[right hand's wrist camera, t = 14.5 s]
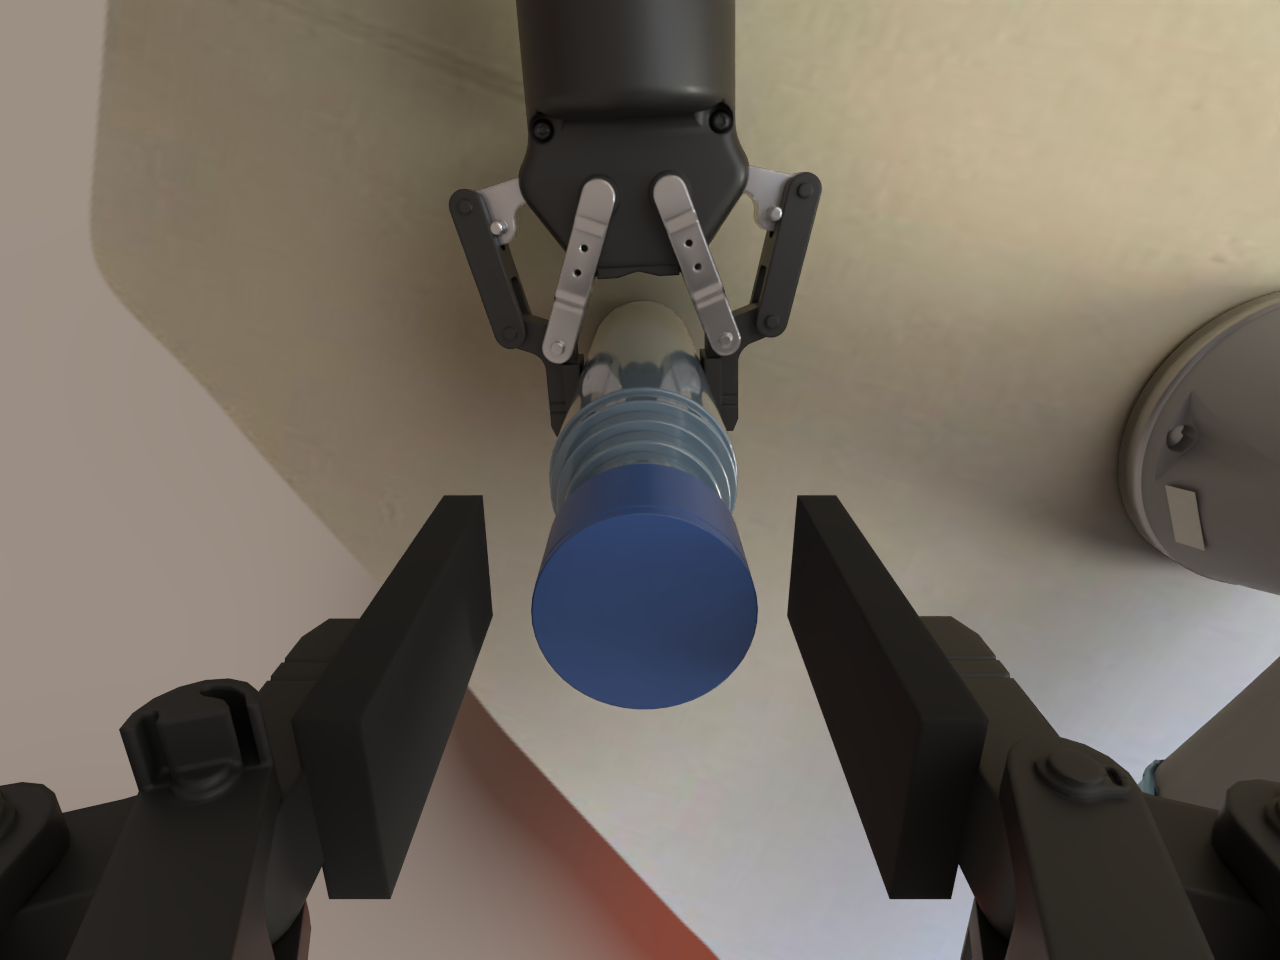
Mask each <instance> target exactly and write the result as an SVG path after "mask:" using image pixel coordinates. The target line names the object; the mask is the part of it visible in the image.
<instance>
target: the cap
mask: <svg viewBox="0 0 1280 960" xmlns="http://www.w3.org/2000/svg"><path fill="white" fill-rule="evenodd" d="M531 613H532V625H533V629H534V633H535V637H536V640H537V642H538V645H539V647H540V649H541V651H542V653H543V655H544V656H545V658H546V660H547V661H548V663H549V664H550V665H551V667H552V668H553V669H554V671H555V672H556V673H557V674H558V675H559V676H560V677H561V678H562V679H563V680H565V681H566V682H567V683H568V684H570V685H571V686H572V687H573V688H575V689H577V690H578V691H580V692H581V693H583V694H585V695H587V696H589V697H591V698H593V699H595V700H598V701H600V702H603V703H606V704H610V705H613V706H618V707H623V708H631V709H658V708H666V707H671V706H675V705H680V704H683V703H685V702H688V701H691V700H694V699H696V698H698V697H700V696H702V695H704V694H706V693H708V692H709V691H711V690H712V689H714V688H715V687H717V686H718V685H719V684H721V683H722V682H723V681H724V680H725V679H727V678H728V677H729V676H730V675H731V674H732V672H733V671H734V670H735V669H736V668H737V667H738V665H739V664H740V663H741V661H742V660H743V658H744V657H745V655H746V653H747V651H748V649H749V647H750V645H751V642H752V640H753V637H754V634H755V629H756V624H757V614H758V606H757V596H756V592H755V588H754V584H753V581H752V577H751V574H750V570H749V567H748V564H747V560H746V557H745V554H744V550H743V547H742V544H741V540H740V537H739V534H738V530H737V527H736V524H735V522H734V519H733V517H732V514H731V513H730V511H729V509H728V508H727V506H726V504H725V503H724V502H723V500H722V499H721V498H720V497H719V495H718V494H717V493H716V492H715V491H714V490H712V489H711V488H710V487H709V486H708V485H707V484H705V483H704V482H702V481H701V480H700V479H698V478H696V477H694V476H693V475H691V474H689V473H687V472H684V471H682V470H679V469H676V468H673V467H669V466H664V465H658V464H648V463H647V464H631V465H623V466H620V467H616V468H612V469H609V470H607V471H604V472H602V473H599V474H597V475H596V476H594V477H592V478H590V479H589V480H587V481H586V482H584V483H583V484H582V485H580V486H579V487H578V488H577V489H576V490H575V491H574V492H573V493H572V494H571V495H570V496H569V497H568V498H567V499H566V501H565V502H564V503H563V505H562V506H561V508H560V510H559V511H558V513H557V515H556V517H555V520H554V522H553V525H552V528H551V531H550V535H549V538H548V542H547V545H546V549H545V552H544V556H543V559H542V563H541V566H540V570H539V574H538V578H537V581H536V584H535V588H534V593H533V597H532V608H531Z"/></svg>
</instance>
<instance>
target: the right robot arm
mask: <svg viewBox="0 0 1280 960" xmlns="http://www.w3.org/2000/svg"><path fill="white" fill-rule="evenodd" d="M1118 479H1119V488H1120V493H1121V497H1122V501H1123V504H1124V506H1125V509H1126V512H1127V514H1128V516H1129V518H1130V520H1131V522H1132V523H1133V525H1134V526H1135V527H1136V529H1137V530H1138V532H1139V533H1140V534H1141V535H1142V536H1143V537H1144V538H1145V539H1146V540H1147V541H1148V542H1149V543H1150V544H1151V545H1152V546H1154V547H1155V548H1156V549H1158V550H1159V551H1161V552H1162V553H1164V554H1165V555H1167V556H1168V557H1170V558H1171V559H1173V560H1174V561H1176V562H1177V563H1179V564H1180V565H1182V566H1183V567H1185V568H1187V569H1188V570H1190V571H1192V572H1194V573H1196V574H1198V575H1201V576H1204V577H1206V578H1209V579H1213V580H1217V581H1220V582H1226V583H1230V584H1235V585H1242V586H1246V587H1249V588H1253V589H1257V590H1261V591H1265V592H1269V593H1273V594H1277V595H1280V291H1279V292H1274V293H1271V294H1268V295H1265V296H1261V297H1258V298H1256V299H1253V300H1251V301H1248V302H1246V303H1243V304H1241V305H1239V306H1237V307H1235V308H1233V309H1231V310H1229V311H1227V312H1225V313H1224V314H1222V315H1220V316H1219V317H1217V318H1215V319H1214V320H1212V321H1210V322H1209V323H1208V324H1206V325H1205V326H1203V327H1202V328H1201V329H1199V330H1198V331H1196V332H1195V333H1194V334H1193V335H1192V336H1190V337H1189V338H1188V339H1187V340H1186V341H1184V342H1183V343H1182V344H1181V345H1180V346H1179V347H1178V348H1177V349H1176V350H1175V351H1174V352H1173V353H1172V354H1171V355H1170V356H1169V357H1168V358H1167V359H1166V360H1165V361H1164V363H1163V364H1162V365H1161V366H1160V367H1159V368H1158V370H1157V371H1156V372H1155V374H1154V375H1153V376H1152V378H1151V379H1150V380H1149V382H1148V383H1147V385H1146V386H1145V388H1144V390H1143V391H1142V393H1141V394H1140V396H1139V398H1138V400H1137V402H1136V404H1135V406H1134V407H1133V410H1132V412H1131V414H1130V417H1129V419H1128V421H1127V424H1126V428H1125V431H1124V434H1123V437H1122V442H1121V446H1120V453H1119V461H1118ZM492 616H493V613H492V601H491V589H490V577H489V566H488V554H487V542H486V530H485V519H484V507H483V495H444V496H443V498H442V499H441V501H440V502H439V503H438V505H437V506H436V508H435V509H434V511H433V512H432V514H431V515H430V517H429V518H428V520H427V521H426V522H425V524H424V525H423V527H422V528H421V530H420V531H419V533H418V534H417V536H416V537H415V539H414V540H413V541H412V543H411V544H410V546H409V547H408V549H407V550H406V552H405V553H404V555H403V556H402V558H401V559H400V560H399V562H398V563H397V565H396V566H395V568H394V569H393V571H392V572H391V574H390V575H389V577H388V578H387V580H386V581H385V582H384V584H383V585H382V587H381V588H380V590H379V591H378V593H377V594H376V596H375V597H374V599H373V600H372V602H371V603H370V605H369V606H368V607H367V609H366V610H365V612H364V613H363V615H362V616H361V618H360V619H328V620H327V621H325V622H324V623H322V624H321V625H319V626H318V627H316V628H315V629H313V630H312V631H310V632H309V633H307V634H306V635H304V636H303V637H301V639H300V640H299V641H298V643H297V644H296V645H295V646H294V648H293V649H292V650H291V651H290V653H289V654H288V655H287V657H286V658H285V662H284V663H281V664H280V665H279V667H278V668H277V669H276V670H275V672H274V673H273V674H272V676H271V680H270V681H267V682H266V683H265V684H264V686H263V687H262V688H261V689H260V691H259V692H258V691H257V690H256V689H255V688H254V687H252V686H251V685H250V684H249V683H247V682H243V681H239V680H234V679H214V680H204V681H200V682H196V683H192V684H189V685H185V686H181V687H178V688H176V689H174V690H171V691H169V692H167V693H165V694H162V695H160V696H158V697H156V698H154V699H152V700H151V701H149V702H148V703H147V704H145V705H144V706H142V707H141V708H139V709H138V710H137V711H135V712H134V713H132V715H131V716H130V717H129V718H128V719H127V721H126V722H125V723H124V724H123V725H122V727H121V728H120V729H119V730H120V734H121V737H122V740H123V743H124V746H125V749H126V752H127V755H128V758H129V762H130V765H131V768H132V771H133V774H134V777H135V780H136V783H137V786H138V790H139V792H138V795H136V796H133V797H129V798H126V799H122V800H118V801H113V802H109V803H104V804H100V805H96V806H91V807H87V808H83V809H78V810H73V811H69V812H65V813H62V811H61V809H60V806H59V803H58V801H57V798H56V795H55V793H54V792H53V791H51V790H50V789H49V788H47V787H46V786H45V785H43V784H36V783H26V782H20V783H14V784H8V785H3V786H0V960H308V951H309V942H310V933H311V924H310V917H309V910H308V906H307V902H306V898H307V896H308V894H309V892H310V890H311V888H312V886H313V884H314V882H315V879H316V877H317V875H318V873H319V871H320V869H321V867H322V868H323V873H324V878H325V882H326V887H327V891H328V896H329V899H390V898H391V896H392V893H393V890H394V887H395V885H396V882H397V879H398V876H399V873H400V871H401V868H402V865H403V862H404V860H405V857H406V854H407V851H408V849H409V846H410V843H411V840H412V838H413V835H414V832H415V829H416V827H417V824H418V821H419V818H420V815H421V813H422V810H423V807H424V804H425V802H426V799H427V796H428V793H429V791H430V788H431V785H432V782H433V780H434V777H435V774H436V771H437V768H438V766H439V763H440V760H441V757H442V755H443V752H444V749H445V746H446V744H447V741H448V738H449V735H450V733H451V730H452V727H453V724H454V721H455V719H456V716H457V713H458V710H459V708H460V705H461V702H462V699H463V697H464V694H465V691H466V688H467V686H468V683H469V680H470V677H471V675H472V672H473V669H474V666H475V663H476V661H477V658H478V655H479V652H480V650H481V647H482V644H483V641H484V639H485V636H486V633H487V630H488V628H489V625H490V622H491V619H492ZM787 616H788V619H789V622H790V625H791V628H792V630H793V633H794V636H795V639H796V641H797V644H798V647H799V650H800V652H801V655H802V658H803V661H804V663H805V666H806V669H807V672H808V674H809V677H810V680H811V683H812V686H813V688H814V691H815V694H816V697H817V699H818V702H819V705H820V708H821V710H822V713H823V716H824V719H825V721H826V724H827V727H828V730H829V733H830V735H831V738H832V741H833V744H834V746H835V749H836V752H837V755H838V757H839V760H840V763H841V766H842V768H843V771H844V774H845V777H846V780H847V782H848V785H849V788H850V791H851V793H852V796H853V799H854V802H855V804H856V807H857V810H858V813H859V815H860V818H861V821H862V824H863V827H864V829H865V832H866V835H867V838H868V840H869V843H870V846H871V849H872V851H873V854H874V857H875V860H876V862H877V865H878V868H879V871H880V873H881V876H882V879H883V882H884V885H885V887H886V890H887V893H888V896H889V898H890V899H951V896H952V892H953V887H954V882H955V878H956V873H957V868H958V864H959V865H960V868H961V870H962V872H963V874H964V876H965V878H966V880H967V882H968V884H969V886H970V888H971V890H972V892H973V894H974V896H975V897H974V902H973V906H972V910H971V915H970V919H969V923H968V928H967V932H966V936H965V941H964V945H963V949H962V954H961V960H972V959H973V960H1280V657H1279V658H1278V659H1276V660H1275V661H1274V662H1273V663H1272V664H1271V665H1270V666H1269V667H1268V668H1267V669H1266V670H1265V671H1264V672H1262V673H1261V674H1260V675H1259V676H1258V677H1257V678H1256V679H1255V680H1254V681H1253V682H1252V683H1251V684H1249V685H1248V686H1247V687H1246V688H1245V689H1244V690H1243V691H1242V692H1241V693H1240V694H1239V695H1238V696H1236V697H1235V698H1234V699H1233V700H1232V701H1231V702H1230V703H1229V704H1227V705H1226V706H1225V707H1224V708H1223V709H1222V710H1221V711H1220V712H1218V713H1217V714H1216V715H1215V716H1214V717H1213V718H1212V719H1211V720H1209V721H1208V722H1207V723H1206V724H1205V725H1204V726H1203V727H1201V728H1200V729H1199V730H1198V731H1197V732H1196V733H1195V734H1194V735H1192V736H1191V737H1190V738H1189V739H1188V740H1187V741H1186V742H1184V743H1183V744H1182V745H1181V746H1180V747H1179V748H1178V749H1177V750H1175V751H1174V752H1173V753H1172V754H1171V755H1170V756H1169V757H1167V758H1166V759H1165V760H1155V761H1153V762H1152V763H1151V764H1150V765H1148V767H1147V768H1146V769H1145V771H1144V773H1143V779H1142V781H1141V782H1140V783H1139V784H1138V785H1137V784H1136V782H1135V781H1134V779H1133V778H1132V776H1131V775H1130V774H1129V772H1127V771H1126V770H1125V769H1124V768H1122V767H1121V766H1120V765H1119V764H1117V763H1116V762H1115V761H1114V760H1112V759H1111V758H1110V757H1108V756H1106V755H1104V754H1103V753H1101V752H1099V751H1097V750H1095V749H1093V748H1091V747H1089V746H1087V745H1085V744H1082V743H1078V742H1075V741H1072V740H1068V739H1065V738H1062V737H1060V736H1059V735H1058V734H1057V733H1056V731H1055V730H1054V729H1053V728H1052V726H1051V725H1050V724H1049V723H1048V721H1047V720H1046V719H1045V717H1044V716H1043V715H1042V714H1041V712H1040V711H1039V710H1038V709H1037V707H1036V706H1035V705H1034V704H1033V702H1032V701H1031V700H1030V699H1029V697H1028V696H1027V695H1026V694H1025V692H1024V691H1023V690H1022V689H1021V687H1020V686H1019V685H1018V684H1017V682H1016V681H1015V680H1014V678H1010V673H1009V672H1008V671H1007V670H1006V668H1005V667H1004V666H1003V665H1002V663H1001V662H1000V661H999V660H996V658H995V657H996V656H995V655H994V653H993V652H992V651H991V650H990V648H989V647H988V646H987V645H986V643H985V642H984V641H983V640H982V638H981V637H980V636H979V635H978V634H977V633H975V632H974V631H972V630H971V629H969V628H968V627H966V626H965V625H963V624H962V623H960V622H959V621H957V620H956V619H954V618H953V617H951V616H918V615H917V613H916V612H915V610H914V609H913V607H912V606H911V604H910V603H909V601H908V600H907V599H906V597H905V596H904V594H903V593H902V591H901V590H900V588H899V587H898V585H897V584H896V582H895V581H894V579H893V578H892V577H891V575H890V574H889V572H888V571H887V569H886V568H885V566H884V565H883V563H882V562H881V560H880V559H879V558H878V556H877V555H876V553H875V552H874V550H873V549H872V547H871V546H870V544H869V543H868V541H867V540H866V539H865V537H864V536H863V534H862V533H861V531H860V530H859V528H858V527H857V525H856V524H855V522H854V521H853V520H852V518H851V517H850V515H849V514H848V512H847V511H846V509H845V508H844V506H843V505H842V503H841V502H840V501H839V499H838V498H837V496H836V495H797V507H796V519H795V531H794V542H793V554H792V566H791V578H790V589H789V601H788V613H787Z"/></svg>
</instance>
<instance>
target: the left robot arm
mask: <svg viewBox="0 0 1280 960" xmlns="http://www.w3.org/2000/svg"><path fill="white" fill-rule="evenodd" d="M516 6H517V16H518V28H519V38H520V49H521V60H522V70H523V81H524V92H525V103H526V113H527V124H528V146H527V151H526V155H525V158H524V160H523V163H522V165H521V167H520V171H519V177H518V178H515V179H512V180H509V181H506V182H503V183H500V184H497V185H494V186H490V187H487V188H484V189H481V190H470V189H460V190H458V191H456V192H455V193H453V195H452V196H451V198H450V201H449V210H450V213H451V216H452V218H453V221H454V224H455V227H456V230H457V232H458V235H459V238H460V241H461V243H462V246H463V249H464V252H465V255H466V257H467V260H468V263H469V266H470V268H471V271H472V274H473V277H474V280H475V282H476V285H477V288H478V291H479V293H480V296H481V299H482V302H483V305H484V307H485V310H486V313H487V316H488V318H489V321H490V324H491V327H492V330H493V332H494V335H495V338H496V340H497V342H498V343H499V344H500V345H501V346H502V347H504V348H507V349H515V348H517V349H520V350H523V351H527V352H530V353H533V354H535V355H537V356H538V357H539V358H540V359H541V360H542V361H543V363H544V365H545V367H546V373H547V384H548V394H549V403H550V404H549V405H550V416H551V426H552V429H553V430H554V432H555V434H556V436H557V438H558V436H559V433H560V430H561V427H562V425H563V422H564V419H565V417H566V414H567V411H568V408H569V406H570V403H571V400H572V397H573V395H574V392H575V389H576V387H577V384H578V381H579V378H580V376H581V373H582V370H583V367H584V354H578V339H579V336H580V332H581V329H582V325H583V322H584V318H585V315H586V311H587V308H588V304H589V301H590V298H591V295H592V292H593V288H594V285H595V281H596V278H597V279H607V278H619V277H622V276H625V275H628V274H631V273H634V272H638V271H639V272H644V273H648V274H653V275H657V276H668V275H679V273H680V272H681V274H682V277H683V279H684V282H685V284H686V287H687V290H688V292H689V294H690V297H691V299H692V302H693V304H694V307H695V309H696V312H697V315H698V317H699V320H700V322H701V325H702V327H703V330H704V332H705V349H700V363H701V365H702V368H703V371H704V373H705V376H706V379H707V381H708V384H709V386H710V389H711V392H712V394H713V397H714V399H715V402H716V405H717V407H718V410H719V412H720V415H721V418H722V420H723V423H724V425H725V428H726V431H733V430H734V427H735V425H736V422H737V420H738V358H739V355H740V353H741V351H742V350H743V349H744V348H745V347H746V346H747V345H748V344H750V343H753V342H755V341H757V340H760V339H762V338H765V337H776V336H779V335H780V334H781V333H783V331H784V330H785V329H786V326H787V323H788V319H789V315H790V312H791V308H792V304H793V300H794V296H795V292H796V288H797V285H798V281H799V277H800V273H801V269H802V265H803V261H804V258H805V254H806V250H807V246H808V242H809V238H810V234H811V231H812V227H813V223H814V219H815V215H816V211H817V207H818V203H819V200H820V196H821V191H822V186H821V182H820V180H819V179H818V177H817V176H816V175H814V174H812V173H809V172H799V173H795V174H788V173H783V172H778V171H773V170H769V169H764V168H759V167H754V166H749V162H748V159H747V156H746V154H745V152H744V150H743V149H742V147H741V145H740V142H739V139H738V136H737V132H736V125H735V0H516ZM743 193H745V194H747V195H748V196H749V197H750V198H751V200H752V202H753V205H754V214H753V215H754V221H755V223H756V224H757V226H758V227H760V228H761V229H763V230H767V233H766V237H765V241H764V245H763V249H762V254H761V258H760V262H759V266H758V270H757V275H756V279H755V283H754V287H753V291H752V296H751V300H750V304H749V305H747V306H744V307H742V308H739V309H737V310H735V311H731V308H730V306H729V303H728V300H727V297H726V295H725V291H724V287H723V284H722V282H721V279H720V276H719V274H718V271H717V268H716V266H715V263H714V260H713V258H712V255H711V252H710V249H709V247H708V245H709V244H710V242H711V241H712V239H713V238H714V236H715V235H716V233H717V232H718V230H719V229H720V227H721V226H722V224H723V223H724V221H725V220H726V218H727V216H728V215H729V213H730V212H731V210H732V209H733V207H734V206H735V204H736V203H737V201H738V200H739V198H740V197H741V195H742V194H743ZM526 204H528V206H529V207H530V208H531V209H532V211H533V212H534V213H535V214H536V216H537V217H538V218H539V219H540V221H541V222H542V223H543V224H544V226H545V227H546V228H547V229H548V231H549V232H550V233H551V234H552V236H553V237H554V238H555V239H556V241H557V242H558V243H559V244H560V246H561V247H562V248H563V249H564V251H565V252H566V255H565V258H564V262H563V266H562V269H561V273H560V277H559V281H558V284H557V288H556V292H555V297H554V303H553V307H552V311H551V315H550V318H549V320H547V319H543V318H540V317H537V316H534V315H532V314H531V311H530V308H529V305H528V302H527V299H526V296H525V293H524V290H523V287H522V284H521V281H520V278H519V275H518V272H517V269H516V267H515V264H514V261H513V258H512V255H511V252H510V249H509V246H508V243H510V242H512V241H514V240H515V239H516V238H517V236H518V234H519V222H518V216H519V212H520V210H521V209H522V208H523V207H524V206H525V205H526Z"/></svg>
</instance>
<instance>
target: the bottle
mask: <svg viewBox="0 0 1280 960" xmlns="http://www.w3.org/2000/svg"><path fill="white" fill-rule="evenodd" d="M647 463H648V464H658V465H664V466H669V467H673V468H676V469H679V470H682V471H684V472H687V473H689V474H691V475H693V476H694V477H696V478H698V479H700V480H701V481H702V482H704V483H705V484H707V485H708V486H709V487H710V488H711V489H712V490H714V491H715V492H716V493H717V494H718V495H719V497H720V498H721V499H722V500H723V502H724V503H725V504H726V506H727V508H728V509H729V511H730V513H731V514H732V513H733V510H734V507H735V502H736V496H737V479H738V470H737V461H736V456H735V452H734V449H733V446H732V444H731V441H730V438H729V436H728V433H727V431H726V428H725V425H724V423H723V420H722V418H721V415H720V412H719V410H718V407H717V405H716V402H715V399H714V397H713V394H712V392H711V389H710V386H709V384H708V381H707V379H706V376H705V373H704V371H703V368H702V365H701V363H700V360H699V358H698V355H697V352H696V350H695V347H694V345H693V342H692V339H691V337H690V334H689V332H688V329H687V327H686V326H685V324H684V322H683V321H682V320H681V318H680V317H679V316H678V315H677V314H676V313H675V312H673V311H672V310H671V309H669V308H667V307H666V306H664V305H661V304H659V303H656V302H651V301H634V302H630V303H626V304H624V305H621V306H619V307H618V308H616V309H614V310H613V311H612V312H611V313H609V314H608V315H607V316H606V317H605V318H604V320H603V321H602V323H601V324H600V326H599V328H598V330H597V332H596V335H595V337H594V340H593V343H592V346H591V348H590V351H589V354H588V357H587V359H586V362H585V365H584V367H583V370H582V373H581V376H580V378H579V381H578V384H577V387H576V389H575V392H574V395H573V397H572V400H571V403H570V406H569V408H568V411H567V414H566V417H565V419H564V422H563V425H562V427H561V430H560V433H559V436H558V438H557V441H556V444H555V447H554V449H553V452H552V457H551V461H550V471H549V479H550V492H551V501H552V506H553V510H554V513H555V515H557V513H558V511H559V510H560V508H561V506H562V505H563V503H564V502H565V501H566V499H567V498H568V497H569V496H570V495H571V494H572V493H573V492H574V491H575V490H576V489H577V488H578V487H579V486H580V485H582V484H583V483H584V482H586V481H587V480H589V479H590V478H592V477H594V476H596V475H597V474H599V473H602V472H604V471H607V470H609V469H612V468H616V467H620V466H623V465H631V464H647Z"/></svg>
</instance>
